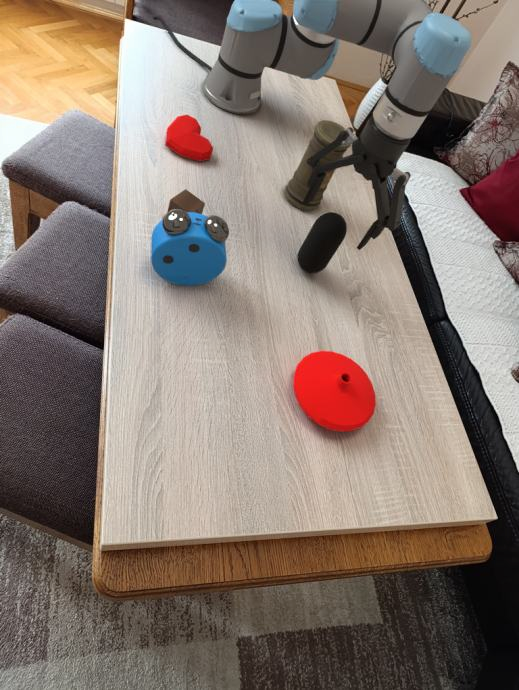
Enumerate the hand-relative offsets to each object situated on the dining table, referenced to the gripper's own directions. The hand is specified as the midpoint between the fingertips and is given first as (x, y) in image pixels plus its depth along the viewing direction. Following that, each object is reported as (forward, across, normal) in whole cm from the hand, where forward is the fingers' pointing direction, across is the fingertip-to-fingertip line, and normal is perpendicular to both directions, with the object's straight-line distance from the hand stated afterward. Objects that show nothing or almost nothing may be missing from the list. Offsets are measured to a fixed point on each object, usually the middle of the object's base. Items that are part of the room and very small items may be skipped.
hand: (333, 223), depth 96 cm
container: (+13, -14, +18) cm, 26 cm away
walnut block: (+13, -25, -13) cm, 31 cm away
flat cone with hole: (+14, +21, -22) cm, 33 cm away
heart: (+13, -41, +4) cm, 43 cm away
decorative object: (+14, 0, 0) cm, 14 cm away
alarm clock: (+14, -14, -24) cm, 31 cm away
